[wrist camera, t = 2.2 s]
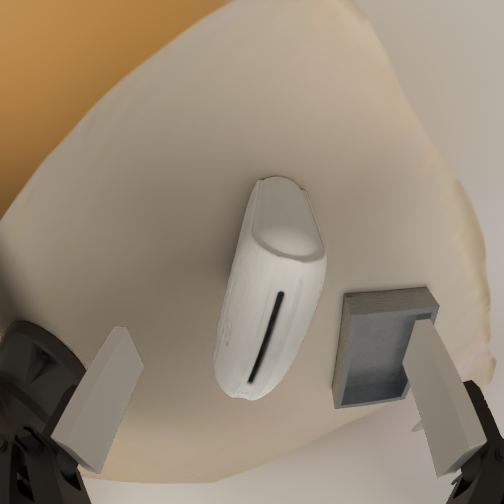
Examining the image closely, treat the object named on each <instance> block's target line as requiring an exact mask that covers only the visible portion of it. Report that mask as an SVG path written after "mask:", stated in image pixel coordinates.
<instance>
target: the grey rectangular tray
mask: <svg viewBox="0 0 504 504" xmlns="http://www.w3.org/2000/svg"><path fill="white" fill-rule="evenodd" d="M438 310H439V304H438V303H437V301H436V300H435V298H434V297H433V296H432V294H431V293H430V291H429V290H428V288H427V287H423V288H412V289H401V290H390V291H378V292H365V293H350V294H344V301H343V311H342V320H341V328H340V336H339V344H338V351H337V358H336V365H335V371H334V378H333V384H332V393H333V400H334V407H335V409H339V408H348V407H356V406H364V405H371V404H378V403H384V402H391V401H396V400H402V399H405V397H406V395H407V393H408V390H409V388H410V383H409V380H408V378H407V375H406V372H405V369H404V366H403V364H402V362H403V359H404V356H405V353H406V350H407V347H408V344H409V341H410V338H411V334H412V331H413V328H414V324H415V321H416V320H424V319H430V320H431V322H432V323H433V325H434V322H435V319H436V316H437V313H438Z"/></svg>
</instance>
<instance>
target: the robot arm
mask: <svg viewBox="0 0 504 504" xmlns="http://www.w3.org/2000/svg"><path fill="white" fill-rule="evenodd" d="M402 364H403V366H404V369H405V372H406V375H407V378H408V380H409V383H410V386H411V389H412V392H413V395H414V398H415V401H416V404H417V407H418V411H419V414H420V417H421V420H422V423H423V427H424V430H425V434H426V437H427V441H428V444H429V448H430V452H431V455H432V459H433V463H434V467H435V471H436V475H437V479H439V478H443V477H446V476H449V475H452V474H454V473H455V472H456V471H457V470H458V469H459V468H461V472H462V474H460V475H459V476H458V477H457V478H456V479H455V480H454V481H453V482H452V483H451V484H452V485H454V484H455V483H456V482H457V483H456V485H455V487H454V489H453V491H452V493H451V495H450V497H449V499H448V501H447V503H446V504H504V439H503V438H502V437H501V435H500V433H499V430H498V428H497V425H496V423H495V421H494V418H493V416H492V414H491V411H490V409H489V408H488V405H487V403H486V400H484V396H483V394H482V392H481V390H480V388H479V387H478V386H477V385H476V384H475V383H474V382H473V381H472V380H470V381H466V382H462V380H461V378H460V376H459V374H458V371H457V369H456V367H455V365H454V363H453V361H452V359H451V357H450V355H449V353H448V351H447V349H446V348H445V346H444V344H443V342H442V340H441V338H440V336H439V334H438V333H437V331H436V329H435V327H434V325H433V323H432V322H431V320H430V319H424V320H416V321H415V324H414V328H413V331H412V334H411V338H410V341H409V344H408V347H407V350H406V353H405V356H404V359H403V362H402ZM143 368H144V365H143V363H142V361H141V359H140V356H139V354H138V352H137V349H136V347H135V345H134V342H133V340H132V337H131V335H130V333H129V330H128V328H127V327H119V326H114V327H113V329H112V330H111V332H110V333H109V335H108V337H107V338H106V340H105V341H104V343H103V345H102V346H101V348H100V350H99V351H98V353H97V355H96V356H95V358H94V360H93V361H92V363H91V365H90V366H89V368H88V370H87V371H85V369H84V368H83V366H82V365H81V364H80V362H79V361H78V360H77V358H76V357H75V356H74V355H73V354H72V353H71V352H70V351H69V350H68V349H67V348H66V347H65V346H64V345H63V344H62V343H61V342H60V341H59V340H57V339H56V338H55V337H53V336H52V335H51V334H49V333H48V332H46V331H45V330H43V329H42V328H40V327H38V326H36V325H34V324H32V323H29V322H25V321H16V322H14V323H12V324H11V326H10V327H9V328H8V329H7V330H6V331H5V333H4V334H3V336H2V339H1V343H0V504H91V502H90V499H89V496H88V494H87V491H86V488H85V486H84V483H83V480H82V477H81V475H80V472H79V470H78V469H77V466H78V464H80V465H81V466H82V467H83V468H84V469H86V470H88V471H91V472H94V473H97V474H100V473H101V470H102V467H103V465H104V462H105V460H106V457H107V454H108V452H109V449H110V447H111V444H112V442H113V439H114V437H115V434H116V432H117V429H118V427H119V424H120V422H121V420H122V417H123V415H124V412H125V410H126V408H127V405H128V403H129V400H130V398H131V396H132V393H133V391H134V389H135V386H136V384H137V382H138V380H139V377H140V375H141V373H142V370H143Z"/></svg>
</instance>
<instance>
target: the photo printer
mask: <svg viewBox="0 0 504 504" xmlns="http://www.w3.org/2000/svg"><path fill="white" fill-rule="evenodd" d="M326 267H327V247H326V244H325V241H324V238H323V235H322V232H321V229H320V226H319V224H318V221H317V218H316V215H315V212H314V210H313V207H312V204H311V202H310V199H309V197H308V194H307V193H306V191H304V190H300V188H299V187H298V186H297V184H296V183H294V182H293V181H291V180H289V179H287V178H284V177H270V178H266V179H265V180H260V179H259V180H258V181H257V183H256V184H255V186H254V188H253V191H252V193H251V195H250V198H249V202H248V205H247V207H246V212H245V215H244V219H243V223H242V227H241V231H240V235H239V239H238V244H237V248H236V252H235V256H234V260H233V262H232V269H231V273H230V277H229V280H228V284H227V288H226V292H225V296H224V300H223V305H222V309H221V313H220V318H219V322H218V327H217V332H216V338H215V343H214V351H213V368H214V374H215V377H216V380H217V382H218V384H219V386H220V387H221V389H222V390H223V391H224V392H225V393H226V394H227V395H229V396H230V397H233V398H235V397H241V398H245V399H248V400H256V399H259V398H261V397H263V396H264V395H266V394H268V393H269V392H270V391H271V390H273V389H274V388H275V387H276V386H277V384H278V383H279V382H280V381H281V379H282V378H283V377H284V375H285V374H286V372H287V371H288V369H289V368H290V366H291V364H292V363H293V361H294V359H295V357H296V355H297V353H298V351H299V349H300V347H301V345H302V343H303V341H304V338H305V336H306V333H307V331H308V329H309V326H310V324H311V321H312V319H313V316H314V313H315V311H316V308H317V304H318V301H319V298H320V295H321V291H322V288H323V284H324V280H325V275H326Z"/></svg>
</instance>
